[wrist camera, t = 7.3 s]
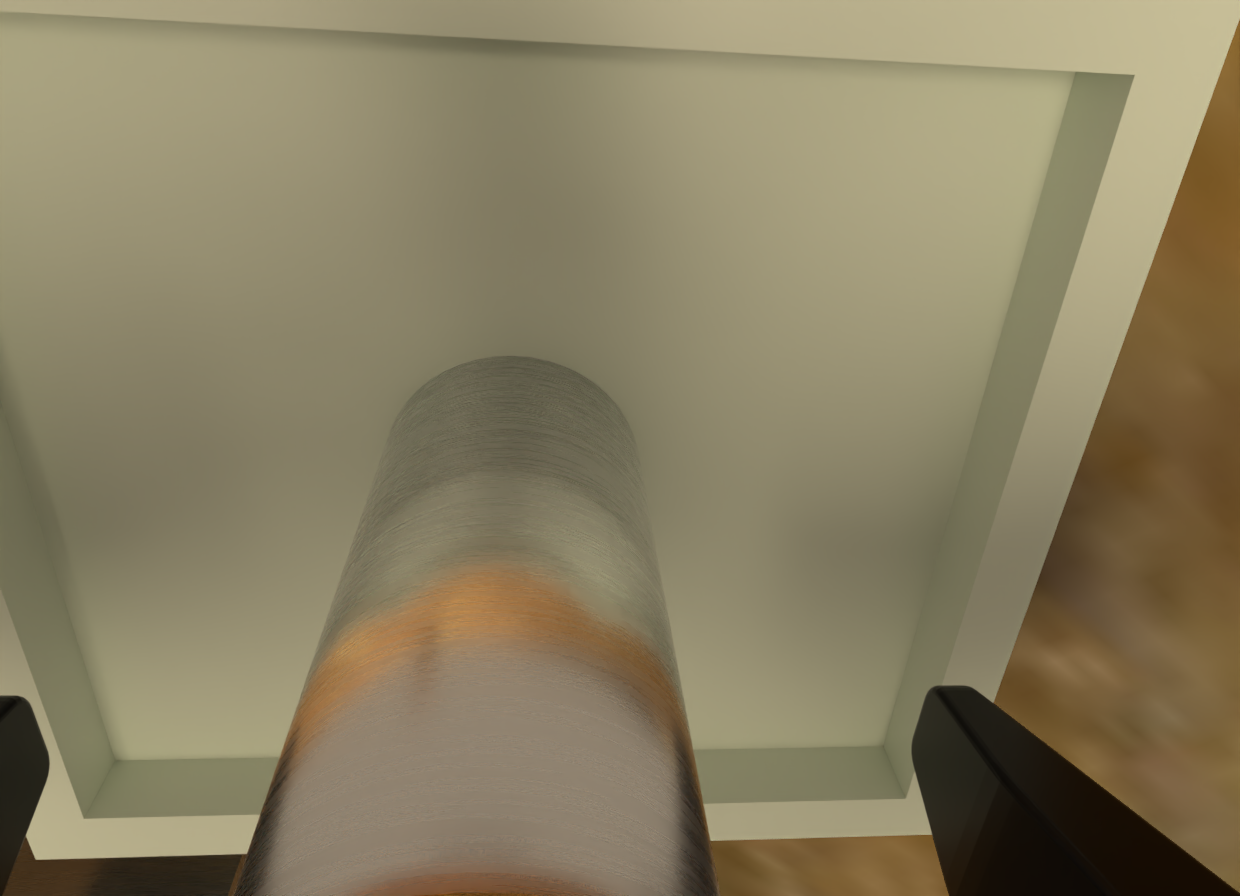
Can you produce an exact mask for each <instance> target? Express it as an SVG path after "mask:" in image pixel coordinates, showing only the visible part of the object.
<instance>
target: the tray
mask: <svg viewBox="0 0 1240 896" xmlns="http://www.w3.org/2000/svg"><path fill="white" fill-rule="evenodd" d="M1239 19H1240V0H0V696H1V695H18V696H21V697H24V698H25V699H26V700H28V701H29V702H30V704H31V706H32V709H33V712H34V714H35V717H36V720H37V722H38V725H39V728H40V731H41V733H42V736H43V739H44V741H45V744H46V747H47V750H48V753H49V759H50V767H49V774H48V778H47V781H46V784H45V787H44V790H43V792H42V795H41V797H40V800H39V803H38V805H37V808H36V810H35V813H34V816H33V818H32V821H31V824H30V826H29V829H28V831H27V834H26V837H27V840H28V842H29V845H30V847H31V850H32V852H33V854H34V857H35V859H36V860H50V859H85V858H120V857H156V856H191V855H226V854H247V852H248V849H249V846H250V843H251V840H252V837H253V834H254V831H255V829H256V826H257V823H258V820H259V817H260V814H261V811H262V808H263V805H264V802H265V799H266V796H267V793H268V790H269V787H270V784H271V781H272V778H273V775H274V772H275V769H276V767H277V764H278V761H279V758H280V755H281V752H282V749H283V746H284V743H285V740H286V737H287V734H288V731H289V728H290V725H291V722H292V719H293V716H294V713H295V710H296V707H297V705H298V702H299V699H300V696H301V693H302V690H303V687H304V684H305V681H306V678H307V675H308V672H309V669H310V666H311V663H312V660H313V657H314V654H315V651H316V648H317V646H318V643H319V640H320V637H321V634H322V631H323V628H324V625H325V622H326V619H327V616H328V613H329V610H330V607H331V604H332V601H333V598H334V595H335V592H336V589H337V586H338V584H339V581H340V578H341V575H342V572H343V569H344V566H345V563H346V560H347V557H348V554H349V551H350V548H351V545H352V542H353V539H354V536H355V533H356V530H357V527H358V524H359V522H360V519H361V516H362V513H363V510H364V507H365V504H366V501H367V498H368V495H369V492H370V489H371V486H372V483H373V480H374V477H375V474H376V471H377V468H378V465H379V463H380V460H381V457H382V454H383V451H384V448H385V445H386V442H387V439H388V436H389V433H390V430H391V427H392V425H393V423H394V421H395V419H396V417H397V415H398V413H399V412H400V411H401V409H402V408H403V406H404V405H405V403H406V402H407V401H408V400H409V399H410V398H411V397H412V396H413V394H414V393H415V392H416V391H417V390H418V389H420V388H421V387H422V386H423V385H425V384H426V383H427V382H428V381H430V380H431V379H433V378H434V377H436V376H438V375H439V374H441V373H443V372H444V371H446V370H449V369H451V368H453V367H456V366H458V365H460V364H463V363H467V362H470V361H474V360H477V359H483V358H489V357H496V356H521V357H532V358H537V359H541V360H546V361H550V362H553V363H556V364H559V365H562V366H565V367H567V368H569V369H571V370H573V371H575V372H577V373H579V374H581V375H583V376H584V377H586V378H587V379H589V380H590V381H592V382H593V383H595V384H596V385H597V386H598V387H600V388H601V389H602V390H603V391H604V392H605V393H607V394H608V396H609V397H610V398H611V399H612V400H613V401H614V402H615V403H616V405H617V406H618V407H619V409H620V410H621V412H622V413H623V415H624V416H625V418H626V419H627V421H628V424H629V426H630V428H631V430H632V432H633V435H634V438H635V442H636V445H637V450H638V455H639V460H640V466H641V471H642V476H643V482H644V487H645V493H646V498H647V503H648V509H649V514H650V519H651V525H652V530H653V536H654V541H655V546H656V552H657V557H658V562H659V568H660V573H661V578H662V584H663V589H664V595H665V600H666V605H667V611H668V616H669V621H670V627H671V632H672V637H673V643H674V648H675V654H676V659H677V664H678V670H679V675H680V680H681V686H682V691H683V697H684V702H685V707H686V713H687V718H688V723H689V729H690V734H691V739H692V745H693V750H694V756H695V761H696V766H697V772H698V777H699V782H700V788H701V793H702V798H703V804H704V809H705V815H706V820H707V825H708V831H709V836H710V841H721V840H757V839H792V838H827V837H863V836H898V835H932V832H931V829H930V825H929V821H928V818H927V814H926V810H925V807H924V803H923V799H922V796H921V792H920V788H919V785H918V781H917V777H916V773H915V770H914V766H913V762H912V755H911V745H912V738H913V735H914V732H915V728H916V725H917V722H918V719H919V715H920V712H921V709H922V706H923V702H924V699H925V696H926V694H927V692H928V691H929V689H930V688H932V687H934V686H938V685H965V686H970V687H972V688H974V689H975V690H977V691H978V692H979V693H981V694H982V695H983V696H985V697H986V698H987V699H989V700H990V701H991V702H992V703H994V700H995V697H996V694H997V692H998V689H999V686H1000V683H1001V681H1002V678H1003V675H1004V672H1005V669H1006V667H1007V664H1008V661H1009V658H1010V656H1011V653H1012V650H1013V647H1014V644H1015V642H1016V639H1017V636H1018V633H1019V631H1020V628H1021V625H1022V622H1023V619H1024V617H1025V614H1026V611H1027V608H1028V606H1029V603H1030V600H1031V597H1032V594H1033V592H1034V589H1035V586H1036V583H1037V581H1038V578H1039V575H1040V572H1041V569H1042V567H1043V564H1044V561H1045V558H1046V556H1047V553H1048V550H1049V547H1050V544H1051V542H1052V539H1053V536H1054V533H1055V531H1056V528H1057V525H1058V522H1059V519H1060V517H1061V514H1062V511H1063V508H1064V505H1065V503H1066V500H1067V497H1068V494H1069V492H1070V489H1071V486H1072V483H1073V480H1074V478H1075V475H1076V472H1077V469H1078V467H1079V464H1080V461H1081V458H1082V455H1083V453H1084V450H1085V447H1086V444H1087V442H1088V439H1089V436H1090V433H1091V430H1092V428H1093V425H1094V422H1095V419H1096V417H1097V414H1098V411H1099V408H1100V405H1101V403H1102V400H1103V397H1104V394H1105V392H1106V389H1107V386H1108V383H1109V380H1110V378H1111V375H1112V372H1113V369H1114V367H1115V364H1116V361H1117V358H1118V355H1119V353H1120V350H1121V347H1122V344H1123V342H1124V339H1125V336H1126V333H1127V330H1128V328H1129V325H1130V322H1131V319H1132V316H1133V314H1134V311H1135V308H1136V305H1137V303H1138V300H1139V297H1140V294H1141V291H1142V289H1143V286H1144V283H1145V280H1146V278H1147V275H1148V272H1149V269H1150V266H1151V264H1152V261H1153V258H1154V255H1155V253H1156V250H1157V247H1158V244H1159V241H1160V239H1161V236H1162V233H1163V230H1164V228H1165V225H1166V222H1167V219H1168V216H1169V214H1170V211H1171V208H1172V205H1173V203H1174V200H1175V197H1176V194H1177V191H1178V189H1179V186H1180V183H1181V180H1182V178H1183V175H1184V172H1185V169H1186V166H1187V164H1188V161H1189V158H1190V155H1191V153H1192V150H1193V147H1194V144H1195V141H1196V139H1197V136H1198V133H1199V130H1200V127H1201V125H1202V122H1203V119H1204V116H1205V114H1206V111H1207V108H1208V105H1209V102H1210V100H1211V97H1212V94H1213V91H1214V89H1215V86H1216V83H1217V80H1218V77H1219V75H1220V72H1221V69H1222V66H1223V64H1224V61H1225V58H1226V55H1227V52H1228V50H1229V47H1230V44H1231V41H1232V39H1233V36H1234V33H1235V30H1236V27H1237V25H1238V22H1239Z"/></svg>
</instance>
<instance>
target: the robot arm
mask: <svg viewBox="0 0 1240 896" xmlns="http://www.w3.org/2000/svg"><path fill="white" fill-rule="evenodd" d="M911 755H912V762H913V766H914V770H915V773H916V777H917V781H918V785H919V788H920V792H921V796H922V799H923V803H924V807H925V810H926V814H927V818H928V821H929V825H930V829H931V832H932V836H933V840H934V843H935V847H936V851H937V854H938V858H939V862H940V865H941V869H942V873H943V876H944V880H945V883H946V887H947V890H948V893H949V896H1240V893H1239V892H1238V891H1236V890H1235V889H1234V888H1232V887H1231V886H1230V885H1228V884H1227V883H1226V882H1225V881H1223V880H1222V879H1221V878H1219V877H1218V876H1217V875H1215V874H1214V873H1213V872H1212V871H1210V870H1209V869H1208V868H1206V867H1205V866H1204V865H1203V864H1201V863H1200V862H1199V861H1197V860H1196V859H1195V858H1193V857H1192V856H1191V855H1190V854H1188V853H1187V852H1186V851H1184V850H1183V849H1182V848H1180V847H1179V846H1178V845H1177V844H1175V843H1174V842H1173V841H1171V840H1170V839H1169V838H1168V837H1166V836H1165V835H1164V834H1162V833H1161V832H1160V831H1158V830H1157V829H1156V828H1155V827H1153V826H1152V825H1151V824H1149V823H1148V822H1147V821H1145V820H1144V819H1143V818H1142V817H1140V816H1139V815H1138V814H1136V813H1135V812H1134V811H1132V810H1131V809H1130V808H1129V807H1127V806H1126V805H1125V804H1123V803H1122V802H1121V801H1120V800H1118V799H1117V798H1116V797H1114V796H1113V795H1112V794H1110V793H1109V792H1108V791H1107V790H1105V789H1104V788H1103V787H1101V786H1100V785H1099V784H1097V783H1096V782H1095V781H1094V780H1092V779H1091V778H1090V777H1088V776H1087V775H1086V774H1085V773H1083V772H1082V771H1081V770H1079V769H1078V768H1077V767H1075V766H1074V765H1073V764H1072V763H1070V762H1069V761H1068V760H1066V759H1065V758H1064V757H1062V756H1061V755H1060V754H1059V753H1057V752H1056V751H1055V750H1053V749H1052V748H1051V747H1050V746H1048V745H1047V744H1046V743H1044V742H1043V741H1042V740H1040V739H1039V738H1038V737H1037V736H1035V735H1034V734H1033V733H1031V732H1030V731H1029V730H1027V729H1026V728H1025V727H1024V726H1022V725H1021V724H1020V723H1018V722H1017V721H1016V720H1014V719H1013V718H1012V717H1011V716H1009V715H1008V714H1007V713H1005V712H1004V711H1003V710H1002V709H1000V708H999V707H998V706H996V705H995V704H994V703H992V702H991V701H990V700H989V699H987V698H986V697H985V696H983V695H982V694H981V693H979V692H978V691H977V690H975V689H974V688H972V687H970V686H965V685H938V686H934V687H932V688H930V689H929V691H928V692H927V694H926V696H925V699H924V702H923V706H922V709H921V712H920V715H919V719H918V722H917V725H916V728H915V732H914V735H913V738H912V745H911ZM49 767H50V759H49V753H48V750H47V747H46V744H45V741H44V739H43V736H42V733H41V731H40V728H39V725H38V722H37V720H36V717H35V714H34V712H33V709H32V706H31V704H30V702H29V701H28V700H26V699H25V698H24V697H21V696H18V695H1V696H0V896H3V894H4V892H5V889H6V887H7V884H8V881H9V879H10V876H11V873H12V871H13V868H14V866H15V863H16V860H17V858H18V855H19V852H20V850H21V847H22V845H23V842H24V839H25V837H26V834H27V831H28V829H29V826H30V824H31V821H32V818H33V816H34V813H35V810H36V808H37V805H38V803H39V800H40V797H41V795H42V792H43V790H44V787H45V784H46V781H47V778H48V774H49Z"/></svg>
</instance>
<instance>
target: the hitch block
mask: <svg viewBox="0 0 1240 896" xmlns="http://www.w3.org/2000/svg"><path fill="white" fill-rule="evenodd" d="M246 855H247V854H226V855H191V856H156V857H120V858H85V859H50V860H36V859H35V857H34V854H33V852H32V850H31V847H30V845H29V842H28V840H27V837H25V839H24V842H23V845H22V847H21V850H20V852H19V855H18V858H17V860H16V863H15V866H14V868H13V871H12V873H11V876H10V879H9V881H8V884H7V887H6V889H5V892H4V894H3V896H233V893H234V890H235V888H236V885H237V882H238V879H239V876H240V873H241V870H242V867H243V864H244V861H245V858H246Z"/></svg>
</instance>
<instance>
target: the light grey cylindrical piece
mask: <svg viewBox="0 0 1240 896" xmlns="http://www.w3.org/2000/svg"><path fill="white" fill-rule="evenodd" d="M233 896H721V895H720V890H719V884H718V879H717V874H716V868H715V863H714V858H713V852H712V847H711V841H710V836H709V831H708V825H707V820H706V815H705V809H704V804H703V798H702V793H701V788H700V782H699V777H698V772H697V766H696V761H695V756H694V750H693V745H692V739H691V734H690V729H689V723H688V718H687V713H686V707H685V702H684V697H683V691H682V686H681V680H680V675H679V670H678V664H677V659H676V654H675V648H674V643H673V637H672V632H671V627H670V621H669V616H668V611H667V605H666V600H665V595H664V589H663V584H662V578H661V573H660V568H659V562H658V557H657V552H656V546H655V541H654V536H653V530H652V525H651V519H650V514H649V509H648V503H647V498H646V493H645V487H644V482H643V476H642V471H641V466H640V460H639V455H638V450H637V445H636V442H635V438H634V435H633V432H632V430H631V428H630V426H629V424H628V421H627V419H626V418H625V416H624V415H623V413H622V412H621V410H620V409H619V407H618V406H617V405H616V403H615V402H614V401H613V400H612V399H611V398H610V397H609V396H608V394H607V393H605V392H604V391H603V390H602V389H601V388H600V387H598V386H597V385H596V384H595V383H593V382H592V381H590V380H589V379H587V378H586V377H584V376H583V375H581V374H579V373H577V372H575V371H573V370H571V369H569V368H567V367H565V366H562V365H559V364H556V363H553V362H550V361H546V360H541V359H537V358H532V357H521V356H496V357H489V358H483V359H477V360H474V361H470V362H467V363H463V364H460V365H458V366H456V367H453V368H451V369H449V370H446V371H444V372H443V373H441V374H439V375H438V376H436V377H434V378H433V379H431V380H430V381H428V382H427V383H426V384H425V385H423V386H422V387H421V388H420V389H418V390H417V391H416V392H415V393H414V394H413V396H412V397H411V398H410V399H409V400H408V401H407V402H406V403H405V405H404V406H403V408H402V409H401V411H400V412H399V413H398V415H397V417H396V419H395V421H394V423H393V425H392V427H391V430H390V433H389V436H388V439H387V442H386V445H385V448H384V451H383V454H382V457H381V460H380V463H379V465H378V468H377V471H376V474H375V477H374V480H373V483H372V486H371V489H370V492H369V495H368V498H367V501H366V504H365V507H364V510H363V513H362V516H361V519H360V522H359V524H358V527H357V530H356V533H355V536H354V539H353V542H352V545H351V548H350V551H349V554H348V557H347V560H346V563H345V566H344V569H343V572H342V575H341V578H340V581H339V584H338V586H337V589H336V592H335V595H334V598H333V601H332V604H331V607H330V610H329V613H328V616H327V619H326V622H325V625H324V628H323V631H322V634H321V637H320V640H319V643H318V646H317V648H316V651H315V654H314V657H313V660H312V663H311V666H310V669H309V672H308V675H307V678H306V681H305V684H304V687H303V690H302V693H301V696H300V699H299V702H298V705H297V707H296V710H295V713H294V716H293V719H292V722H291V725H290V728H289V731H288V734H287V737H286V740H285V743H284V746H283V749H282V752H281V755H280V758H279V761H278V764H277V767H276V769H275V772H274V775H273V778H272V781H271V784H270V787H269V790H268V793H267V796H266V799H265V802H264V805H263V808H262V811H261V814H260V817H259V820H258V823H257V826H256V829H255V831H254V834H253V837H252V840H251V843H250V846H249V849H248V852H247V855H246V858H245V861H244V864H243V867H242V870H241V873H240V876H239V879H238V882H237V885H236V888H235V890H234V893H233Z"/></svg>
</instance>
